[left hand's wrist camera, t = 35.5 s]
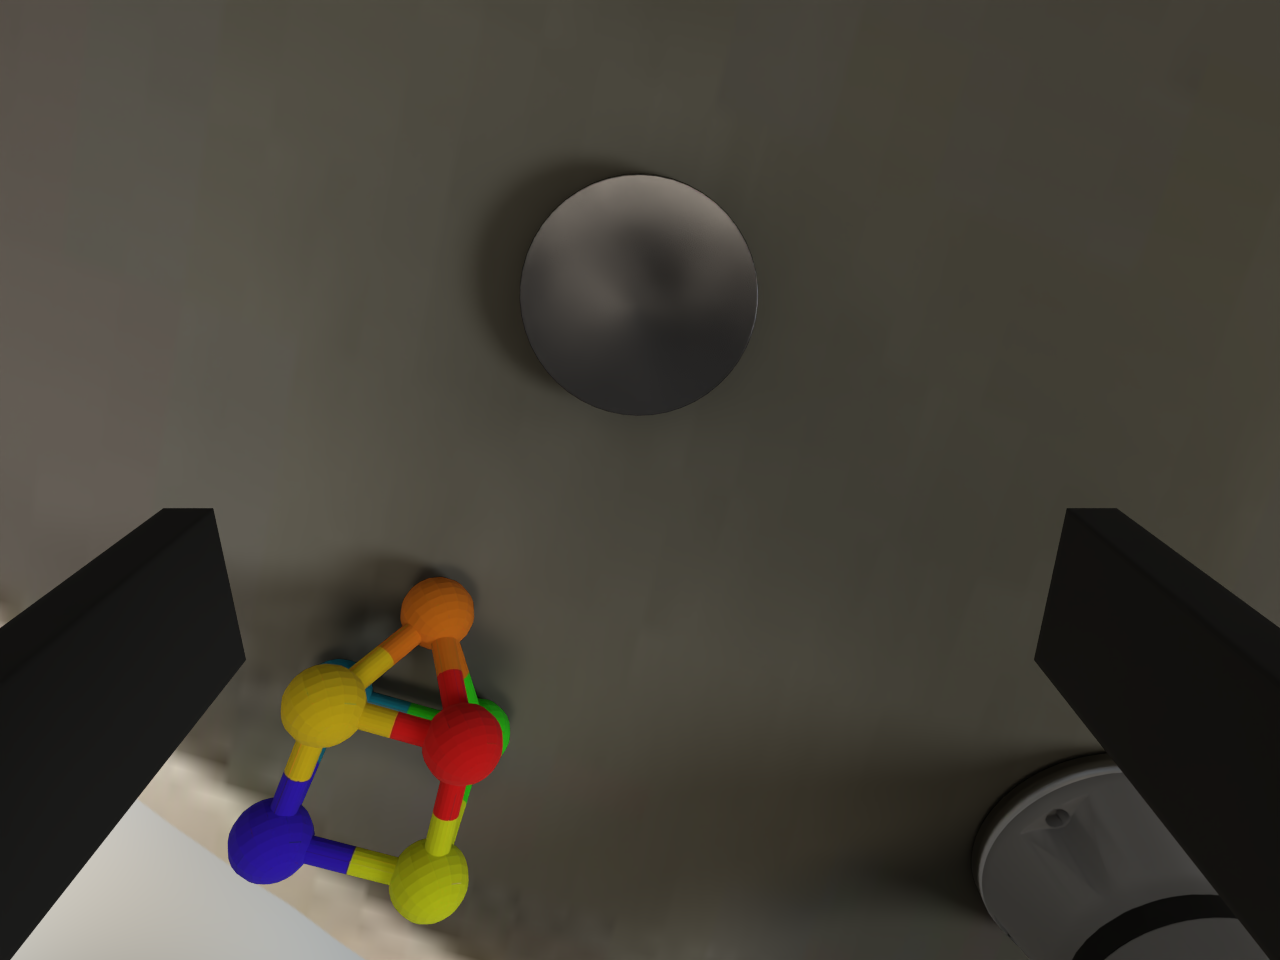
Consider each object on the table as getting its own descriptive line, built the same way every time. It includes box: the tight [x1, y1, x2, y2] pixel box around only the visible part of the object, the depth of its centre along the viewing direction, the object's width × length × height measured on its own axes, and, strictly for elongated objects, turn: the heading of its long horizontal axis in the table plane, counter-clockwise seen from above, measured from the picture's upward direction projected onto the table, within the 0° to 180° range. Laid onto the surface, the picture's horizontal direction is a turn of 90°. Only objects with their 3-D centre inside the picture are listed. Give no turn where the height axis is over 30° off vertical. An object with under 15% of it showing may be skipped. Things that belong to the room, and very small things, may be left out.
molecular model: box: [228, 577, 510, 924], centre depth 40 cm, size 15×12×15 cm
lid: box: [520, 173, 758, 416], centre depth 38 cm, size 11×11×2 cm
